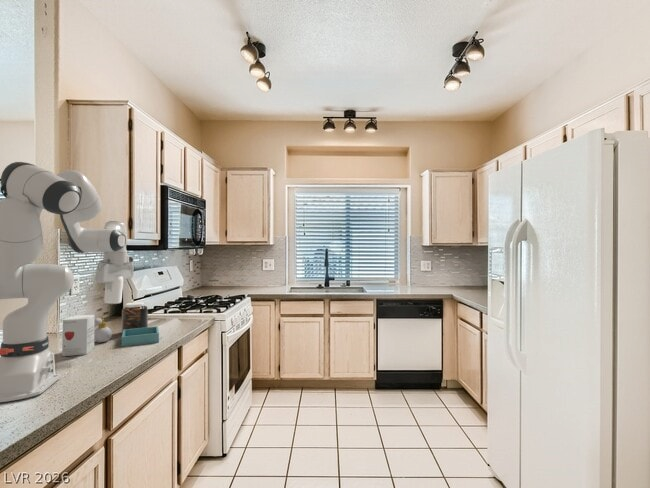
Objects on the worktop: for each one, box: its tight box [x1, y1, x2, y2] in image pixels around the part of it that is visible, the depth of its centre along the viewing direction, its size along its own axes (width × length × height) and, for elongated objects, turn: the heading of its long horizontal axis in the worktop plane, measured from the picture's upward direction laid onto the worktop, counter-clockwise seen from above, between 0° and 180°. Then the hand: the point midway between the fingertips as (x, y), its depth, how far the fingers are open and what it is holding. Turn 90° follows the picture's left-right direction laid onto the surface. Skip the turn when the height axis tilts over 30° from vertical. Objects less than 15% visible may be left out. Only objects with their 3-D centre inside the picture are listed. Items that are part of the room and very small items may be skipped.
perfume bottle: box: [94, 316, 113, 344], centre depth 162 cm, size 8×10×12 cm
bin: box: [121, 325, 160, 347], centre depth 165 cm, size 15×15×4 cm
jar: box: [121, 301, 149, 334], centre depth 180 cm, size 12×12×15 cm
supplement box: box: [61, 314, 95, 357], centre depth 147 cm, size 9×9×15 cm
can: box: [103, 275, 124, 305], centre depth 150 cm, size 6×6×12 cm
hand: (115, 290), depth 151 cm, fingers closed on can, 5 cm apart
